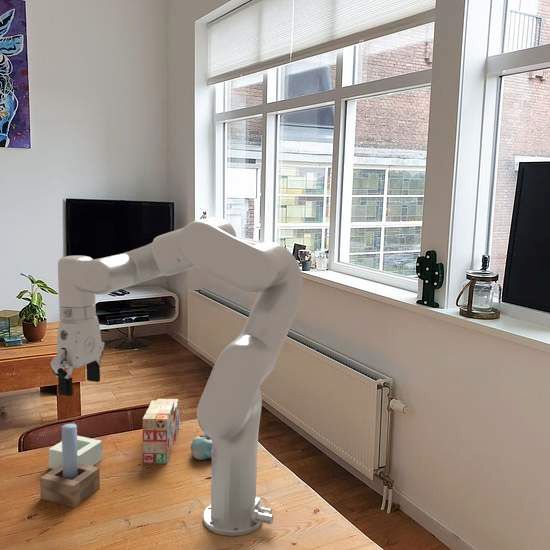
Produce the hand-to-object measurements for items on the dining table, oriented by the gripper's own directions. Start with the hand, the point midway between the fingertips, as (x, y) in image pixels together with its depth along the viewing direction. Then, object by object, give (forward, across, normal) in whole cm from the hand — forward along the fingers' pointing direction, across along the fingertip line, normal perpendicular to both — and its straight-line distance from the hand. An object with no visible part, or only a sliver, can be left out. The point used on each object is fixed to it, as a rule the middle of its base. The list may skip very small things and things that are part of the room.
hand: (80, 387), depth 132 cm
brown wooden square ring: (+25, -2, +2) cm, 25 cm away
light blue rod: (+25, -2, +2) cm, 25 cm away
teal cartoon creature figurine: (+25, +28, -19) cm, 42 cm away
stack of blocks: (+25, +28, -5) cm, 38 cm away
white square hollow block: (+24, +10, +10) cm, 28 cm away
